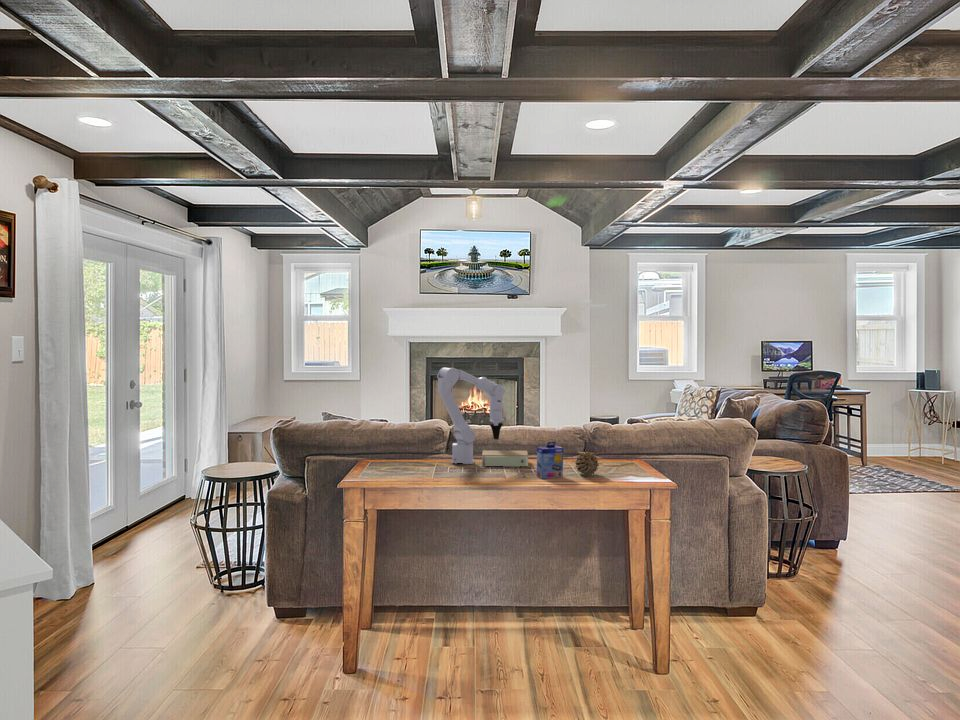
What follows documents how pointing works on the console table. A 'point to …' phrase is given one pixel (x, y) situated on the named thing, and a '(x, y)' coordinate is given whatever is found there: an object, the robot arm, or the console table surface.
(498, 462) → the door
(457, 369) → the robot arm
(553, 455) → the ink cartridge box
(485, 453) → the beige flat box
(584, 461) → the pine cone
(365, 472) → the console table surface
